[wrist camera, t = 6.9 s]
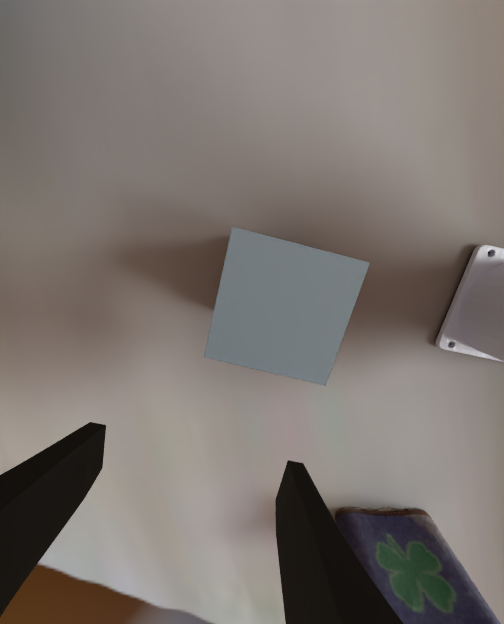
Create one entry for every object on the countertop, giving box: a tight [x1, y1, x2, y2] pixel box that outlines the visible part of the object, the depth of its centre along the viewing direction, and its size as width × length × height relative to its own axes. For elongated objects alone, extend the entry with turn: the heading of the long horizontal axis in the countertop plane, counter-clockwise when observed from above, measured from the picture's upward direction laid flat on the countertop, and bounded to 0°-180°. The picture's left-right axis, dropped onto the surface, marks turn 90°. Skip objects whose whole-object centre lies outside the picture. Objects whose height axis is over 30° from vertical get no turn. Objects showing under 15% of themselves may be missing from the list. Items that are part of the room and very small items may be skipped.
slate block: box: [204, 227, 370, 386], centre depth 11 cm, size 5×5×5 cm
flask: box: [335, 507, 501, 624], centre depth 18 cm, size 9×3×11 cm, turn 89°
